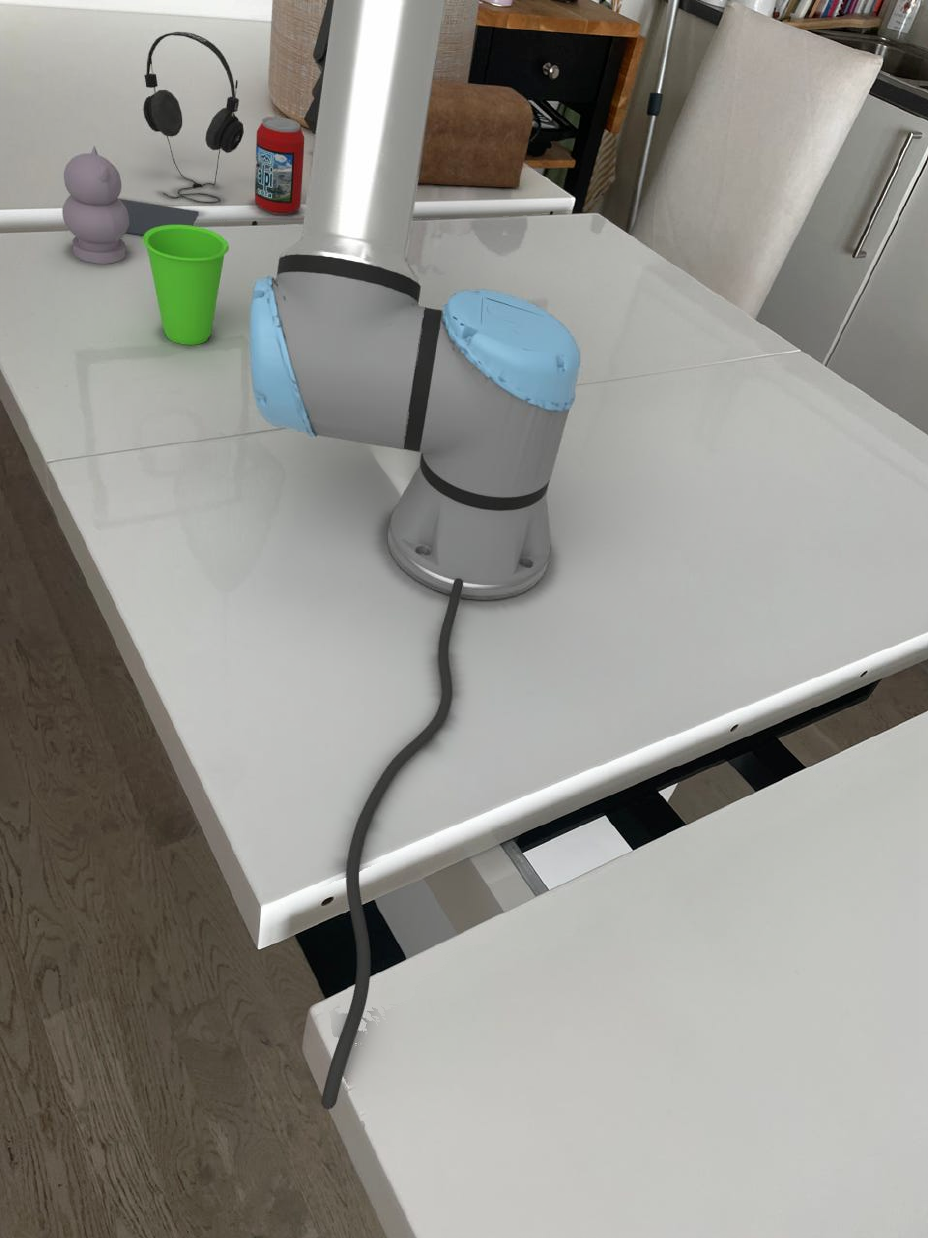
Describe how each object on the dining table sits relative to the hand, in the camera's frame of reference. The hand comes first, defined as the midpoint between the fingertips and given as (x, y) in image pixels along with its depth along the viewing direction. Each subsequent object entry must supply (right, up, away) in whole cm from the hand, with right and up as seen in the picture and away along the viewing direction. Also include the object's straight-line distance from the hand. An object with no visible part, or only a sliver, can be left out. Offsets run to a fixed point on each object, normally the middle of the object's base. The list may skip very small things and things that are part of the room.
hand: (313, 127), depth 115 cm
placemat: (-26, -2, +21) cm, 34 cm away
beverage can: (-10, +4, +33) cm, 35 cm away
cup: (-15, -24, 0) cm, 28 cm away
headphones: (-24, +8, +33) cm, 42 cm away
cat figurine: (-29, -11, +11) cm, 33 cm away
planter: (-1, +38, +74) cm, 83 cm away
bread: (+9, +20, +56) cm, 60 cm away
